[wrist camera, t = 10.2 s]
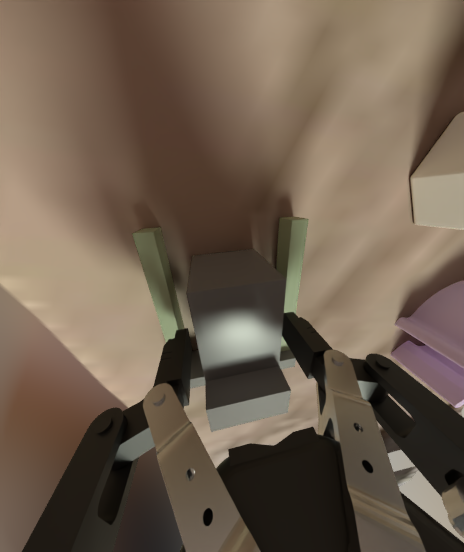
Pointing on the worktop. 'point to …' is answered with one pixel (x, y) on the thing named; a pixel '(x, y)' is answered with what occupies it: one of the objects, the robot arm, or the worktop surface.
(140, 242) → the deck socket
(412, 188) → the jar
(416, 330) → the clip
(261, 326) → the upright grey block
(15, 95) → the worktop surface
